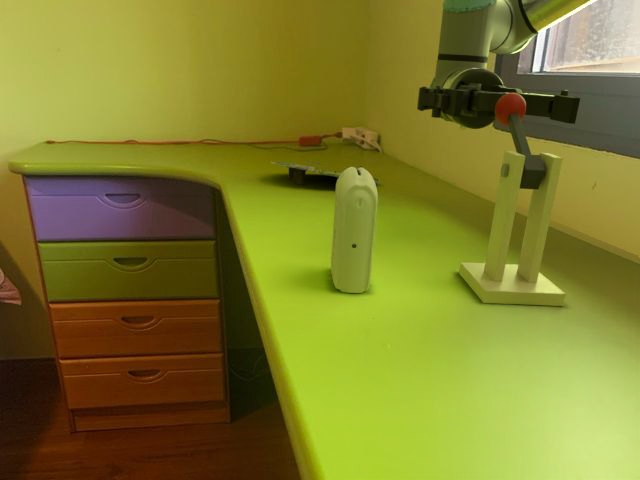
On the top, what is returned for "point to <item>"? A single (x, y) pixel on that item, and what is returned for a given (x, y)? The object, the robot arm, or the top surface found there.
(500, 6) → the robot arm
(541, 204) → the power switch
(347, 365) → the top surface
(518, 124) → the switch lever
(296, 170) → the city model
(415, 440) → the top surface
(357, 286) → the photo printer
